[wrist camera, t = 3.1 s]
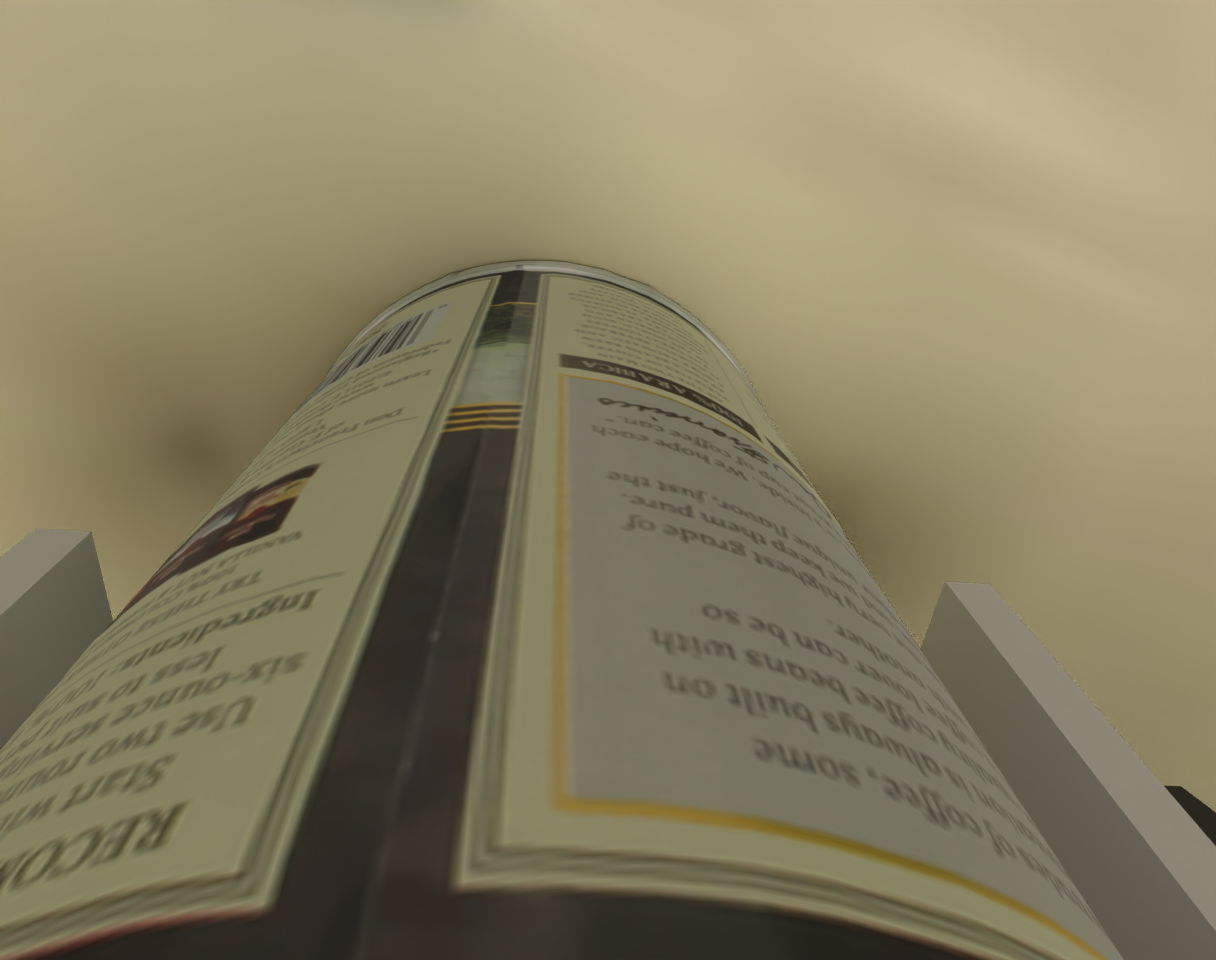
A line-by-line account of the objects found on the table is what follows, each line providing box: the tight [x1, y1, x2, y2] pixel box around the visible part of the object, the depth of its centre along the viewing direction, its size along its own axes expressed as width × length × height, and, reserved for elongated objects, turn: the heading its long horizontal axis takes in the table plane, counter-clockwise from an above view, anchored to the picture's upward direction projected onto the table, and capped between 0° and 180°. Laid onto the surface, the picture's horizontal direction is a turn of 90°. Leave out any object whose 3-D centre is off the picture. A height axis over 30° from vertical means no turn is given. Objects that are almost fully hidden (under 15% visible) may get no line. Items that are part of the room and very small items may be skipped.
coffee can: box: [0, 261, 1124, 960], centre depth 10 cm, size 10×10×14 cm
